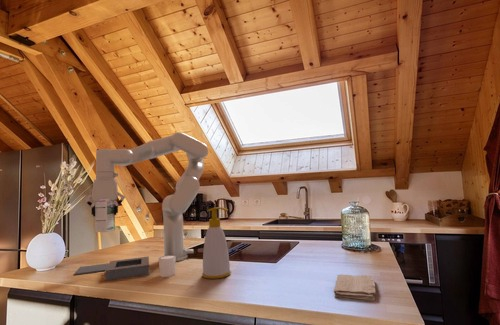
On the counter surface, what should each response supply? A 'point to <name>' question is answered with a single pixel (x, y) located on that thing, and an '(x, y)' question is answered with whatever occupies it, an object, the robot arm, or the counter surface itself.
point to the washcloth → (355, 287)
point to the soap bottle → (215, 249)
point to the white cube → (167, 266)
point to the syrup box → (104, 216)
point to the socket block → (127, 268)
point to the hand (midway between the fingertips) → (104, 215)
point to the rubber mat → (91, 269)
